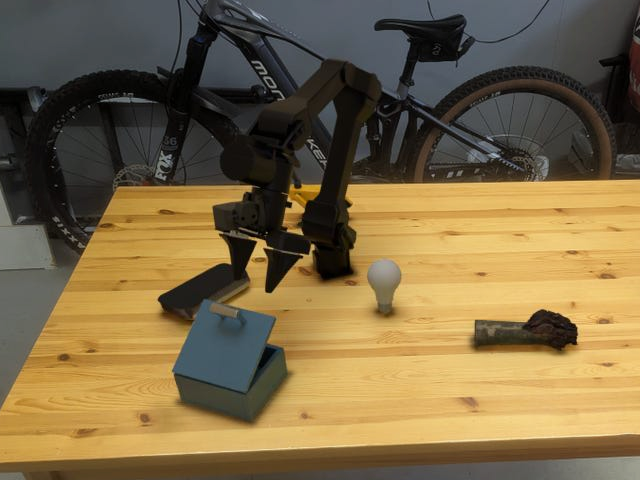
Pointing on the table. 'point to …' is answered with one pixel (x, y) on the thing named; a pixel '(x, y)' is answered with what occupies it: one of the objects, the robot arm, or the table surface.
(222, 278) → the black sponge
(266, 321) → the blue-grey box lid
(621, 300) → the table surface
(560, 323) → the mossy log
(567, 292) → the table surface
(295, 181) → the robot dog
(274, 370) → the compartment
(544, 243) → the table surface
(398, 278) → the lightbulb
